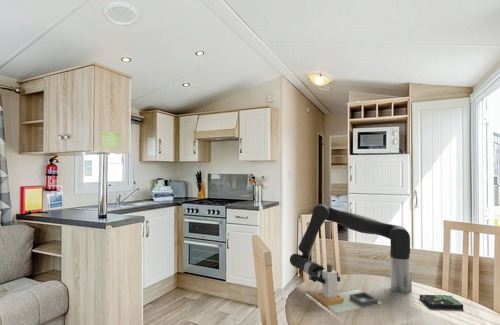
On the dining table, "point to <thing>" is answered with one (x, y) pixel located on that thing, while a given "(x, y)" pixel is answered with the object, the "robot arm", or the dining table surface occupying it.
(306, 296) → the dining table surface
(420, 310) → the dining table surface
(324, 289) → the white square bottle
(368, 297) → the panel
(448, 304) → the disk drive
